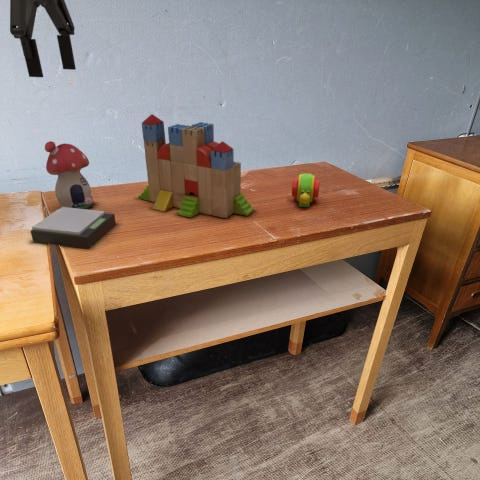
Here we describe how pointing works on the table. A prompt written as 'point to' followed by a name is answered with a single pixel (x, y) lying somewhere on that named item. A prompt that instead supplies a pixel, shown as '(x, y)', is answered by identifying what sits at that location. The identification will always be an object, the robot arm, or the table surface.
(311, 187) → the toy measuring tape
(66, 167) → the decorative ornament
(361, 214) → the table surface
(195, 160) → the block set
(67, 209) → the kitchen scale
